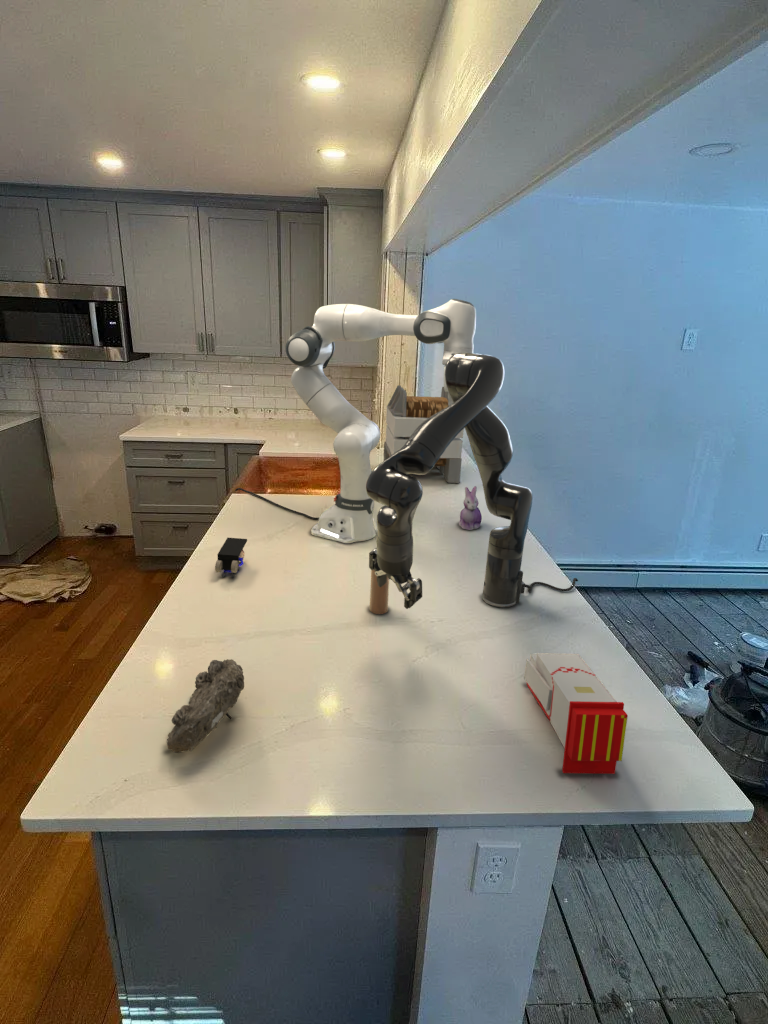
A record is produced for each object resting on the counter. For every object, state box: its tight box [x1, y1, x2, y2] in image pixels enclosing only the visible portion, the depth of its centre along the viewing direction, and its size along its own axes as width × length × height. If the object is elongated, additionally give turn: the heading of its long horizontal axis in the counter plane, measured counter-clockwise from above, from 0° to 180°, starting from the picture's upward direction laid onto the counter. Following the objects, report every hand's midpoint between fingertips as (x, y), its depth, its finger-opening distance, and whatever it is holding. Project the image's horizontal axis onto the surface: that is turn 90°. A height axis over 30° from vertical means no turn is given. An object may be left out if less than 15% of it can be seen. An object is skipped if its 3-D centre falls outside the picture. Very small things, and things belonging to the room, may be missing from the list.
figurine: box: [458, 485, 483, 531], centre depth 207 cm, size 9×10×15 cm
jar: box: [369, 569, 390, 615], centre depth 147 cm, size 5×5×15 cm
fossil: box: [166, 658, 245, 754], centre depth 106 cm, size 22×10×15 cm
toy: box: [523, 652, 628, 775], centre depth 110 cm, size 12×13×30 cm
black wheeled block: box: [214, 537, 248, 578], centre depth 166 cm, size 7×8×15 cm
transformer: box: [383, 384, 465, 484], centre depth 268 cm, size 34×33×41 cm
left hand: (454, 403), depth 174 cm, fingers open, 8 cm apart
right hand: (395, 594), depth 129 cm, fingers open, 8 cm apart
